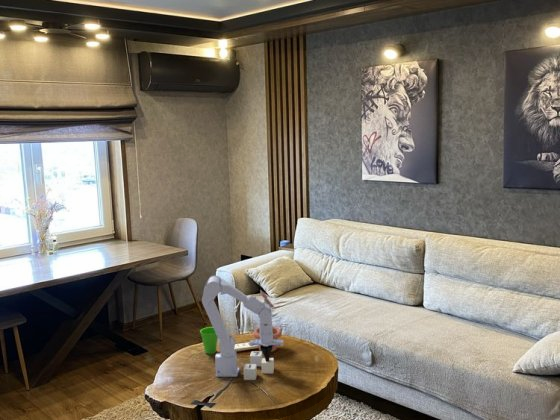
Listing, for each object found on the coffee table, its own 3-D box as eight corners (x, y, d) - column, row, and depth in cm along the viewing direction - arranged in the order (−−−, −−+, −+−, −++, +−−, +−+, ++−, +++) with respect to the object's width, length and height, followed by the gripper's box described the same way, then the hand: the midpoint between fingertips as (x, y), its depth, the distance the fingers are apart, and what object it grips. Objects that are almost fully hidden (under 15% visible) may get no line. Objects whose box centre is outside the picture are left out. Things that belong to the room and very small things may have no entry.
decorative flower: (286, 353, 269) (284, 293, 264) (258, 358, 265) (255, 297, 260) (278, 341, 283) (275, 284, 278) (251, 345, 280) (248, 287, 274)
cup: (199, 349, 278) (198, 328, 276) (218, 346, 280) (216, 325, 278) (203, 357, 269) (201, 335, 267) (221, 353, 272) (220, 332, 270)
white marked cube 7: (250, 366, 258) (249, 355, 257) (251, 361, 263) (251, 351, 262) (261, 366, 257) (260, 355, 256) (262, 361, 262) (262, 351, 261)
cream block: (261, 373, 250) (261, 363, 249) (263, 368, 255) (262, 358, 254) (273, 373, 250) (272, 362, 249) (274, 368, 255) (273, 358, 254)
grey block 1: (244, 380, 245) (243, 369, 244) (245, 374, 250) (245, 363, 249) (255, 380, 245) (254, 368, 244) (257, 374, 249) (256, 363, 249)
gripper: (248, 335, 246) (250, 364, 248) (281, 335, 245) (283, 364, 247) (250, 329, 253) (252, 357, 255) (283, 328, 252) (284, 357, 254)
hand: (267, 360), depth 252 cm, fingers closed, pressing on cream block
